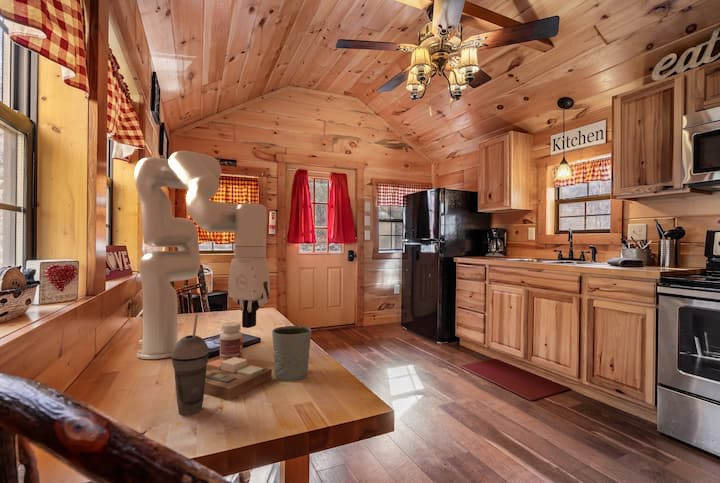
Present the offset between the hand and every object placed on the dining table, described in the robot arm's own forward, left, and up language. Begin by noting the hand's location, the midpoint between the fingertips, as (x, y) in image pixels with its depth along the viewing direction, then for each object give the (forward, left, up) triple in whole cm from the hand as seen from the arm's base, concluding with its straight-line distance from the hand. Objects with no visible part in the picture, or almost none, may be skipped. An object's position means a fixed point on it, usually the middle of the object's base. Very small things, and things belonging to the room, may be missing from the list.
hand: (249, 326), depth 93 cm
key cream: (-5, 0, -11) cm, 12 cm away
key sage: (0, 0, -13) cm, 13 cm away
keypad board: (-5, -3, -14) cm, 15 cm away
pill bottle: (-15, +8, -14) cm, 22 cm away
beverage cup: (0, -17, -14) cm, 22 cm away
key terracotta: (-11, 0, -13) cm, 17 cm away
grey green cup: (+6, +9, -14) cm, 18 cm away
